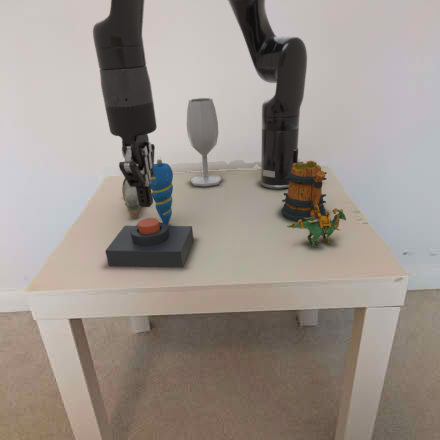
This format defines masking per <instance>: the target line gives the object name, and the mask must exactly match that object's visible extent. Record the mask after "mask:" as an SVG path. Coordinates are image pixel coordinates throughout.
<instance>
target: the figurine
mask: <svg viewBox="0 0 440 440" xmlns="http://www.w3.org/2000/svg"><path fill="white" fill-rule="evenodd" d="M316 208H317V210H316ZM314 209H315V211H313V212H314V214H315V215H316V216H315V217H310V218H305V219H310V220H308V221H305V222H302V220H299V221H298V222H297V223H296V222H295V221H292V222H291V224H289V225H287V226H286V228H290V229H303V230H304V229H305V230H308V232H309V234H308V235H307V240H308V242H307V243H308V245H309V244H311V248H313V247H314V248H319V245H318V244H316V243H315V242H316V241H317V240H319V239H320V238H321V236H322V238H323V239H324V241H325V242H326V243H327V244H328V245H333V242H332V241H330V237H331V236H332V234H333V233H334V232H335V231H342V230H343V228H342V229H341V228H339V227H340V221H341V220H343V221H346V220H347V218H346V214H345V212H344V209H342V208H341V209H338V207H334V209H332V210H331V211H332V213H333V215H334V216H333V218H332V220H331V218H330V215H331V212H330V211H326V212H325V216H321V214H320V213H319V207H318V205H316V204H315V205H314Z"/></svg>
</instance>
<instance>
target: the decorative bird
mask: <svg viewBox="0 0 440 440" xmlns="http://www.w3.org/2000/svg"><path fill="white" fill-rule="evenodd" d="M121 187H122V188H121V190H122V191H121V193H122V197H123V202H124V203H125V206H126V208H127V210H128V212H129V214H130V215H131V217H133V218H134V219H136V218H137V216H138V214H139V211H140V208H141V207H140V206H139V202H138V196H137V191H136V187H130V185H129V183H128V182H127V180H126V178H125V177H124V178H123V181H122V185H121Z"/></svg>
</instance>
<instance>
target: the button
mask: <svg viewBox="0 0 440 440" xmlns="http://www.w3.org/2000/svg"><path fill="white" fill-rule="evenodd" d="M159 222H160V220H159V218H153V217H148V218H147V217H146V218H143V219H140V220H138V221H137V223H136V225H138V230H139V233H141V234H152V233H156V232H158V231H160V224H159Z"/></svg>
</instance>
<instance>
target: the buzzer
mask: <svg viewBox="0 0 440 440" xmlns="http://www.w3.org/2000/svg"><path fill="white" fill-rule="evenodd" d="M159 224H160V231H158V232H156V233H152V234H141V233H139V230H138V225H137V224H136V225H124V226H123V227H122V229H121V230H120V231H119V232H118V234H117V235H116V236H115V237H114V239H113V240H112V241H111V243H110V244H108V246H107V248H106V249H105V251H104V252H105V256H106V260H107V264H108V266H109V267H147V268H149V267H150V268H151V267H152V268H155V267H156V268H183V267H184V265H185V262H186V260H187V258H188V255H189V253H190V250H191V248H192V245H193V243H194V229H193V225H168V226H167V225H166V224H165V223H163V222H162V221H159Z"/></svg>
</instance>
